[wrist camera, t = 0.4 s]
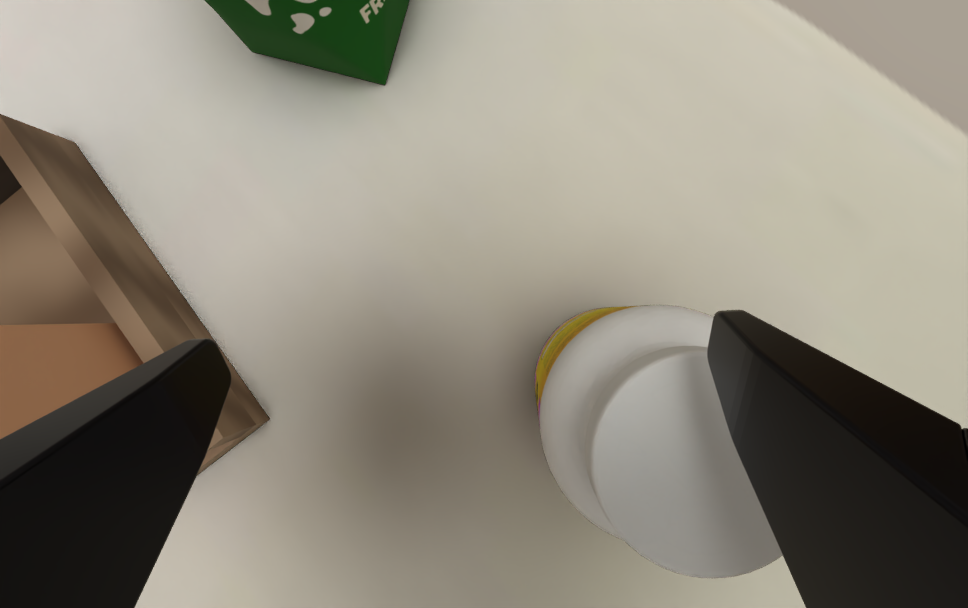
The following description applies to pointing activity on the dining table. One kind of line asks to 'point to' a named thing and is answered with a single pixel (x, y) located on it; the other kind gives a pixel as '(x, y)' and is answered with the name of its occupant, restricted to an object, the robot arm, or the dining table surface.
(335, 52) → the milk carton
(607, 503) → the supplement bottle
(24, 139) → the brown wooden tray
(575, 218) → the dining table surface
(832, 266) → the dining table surface
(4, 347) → the block
